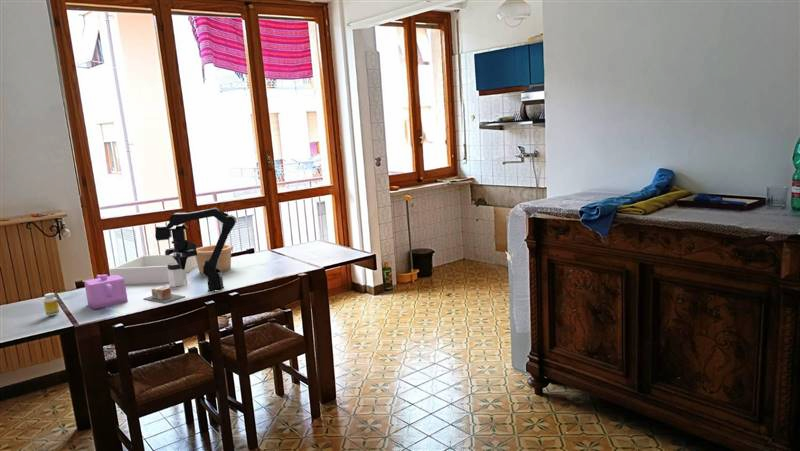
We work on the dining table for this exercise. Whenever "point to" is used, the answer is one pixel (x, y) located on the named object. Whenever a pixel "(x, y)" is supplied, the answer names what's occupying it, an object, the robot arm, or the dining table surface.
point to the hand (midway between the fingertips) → (183, 269)
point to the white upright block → (176, 275)
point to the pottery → (207, 252)
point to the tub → (149, 268)
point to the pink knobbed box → (105, 291)
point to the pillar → (161, 292)
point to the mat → (172, 298)
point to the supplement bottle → (51, 304)
